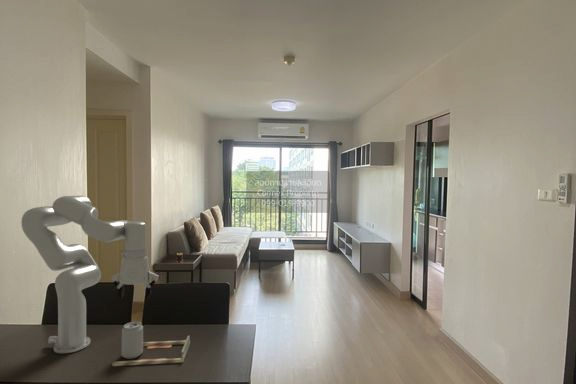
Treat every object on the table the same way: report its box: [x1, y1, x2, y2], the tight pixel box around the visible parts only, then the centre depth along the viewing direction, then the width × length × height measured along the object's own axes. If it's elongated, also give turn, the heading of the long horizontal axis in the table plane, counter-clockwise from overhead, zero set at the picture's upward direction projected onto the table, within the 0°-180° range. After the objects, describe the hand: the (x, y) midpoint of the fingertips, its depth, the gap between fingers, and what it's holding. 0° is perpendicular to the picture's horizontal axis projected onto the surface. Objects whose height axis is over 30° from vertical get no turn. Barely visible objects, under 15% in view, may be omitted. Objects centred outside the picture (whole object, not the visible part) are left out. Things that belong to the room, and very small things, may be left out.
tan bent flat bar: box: [111, 335, 191, 367], centre depth 127 cm, size 25×15×4 cm, turn 97°
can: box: [121, 321, 144, 360], centre depth 126 cm, size 8×8×12 cm
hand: (134, 297), depth 126 cm, fingers open, 9 cm apart
